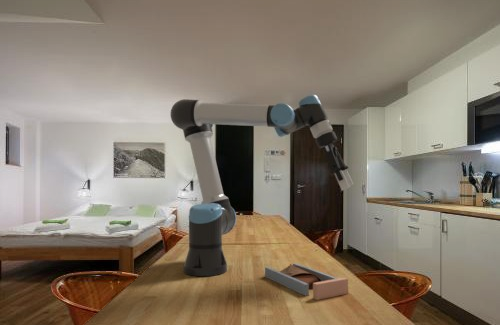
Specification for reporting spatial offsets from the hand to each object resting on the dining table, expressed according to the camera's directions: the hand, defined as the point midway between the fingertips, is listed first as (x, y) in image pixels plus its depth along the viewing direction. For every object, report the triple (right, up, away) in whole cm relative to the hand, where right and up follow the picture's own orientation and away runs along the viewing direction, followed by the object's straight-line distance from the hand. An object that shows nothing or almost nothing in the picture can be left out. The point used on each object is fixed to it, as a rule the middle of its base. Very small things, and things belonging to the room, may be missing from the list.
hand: (348, 187), depth 122 cm
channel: (-20, -28, -17) cm, 38 cm away
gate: (-13, -27, -29) cm, 42 cm away
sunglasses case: (-21, -29, -16) cm, 39 cm away
